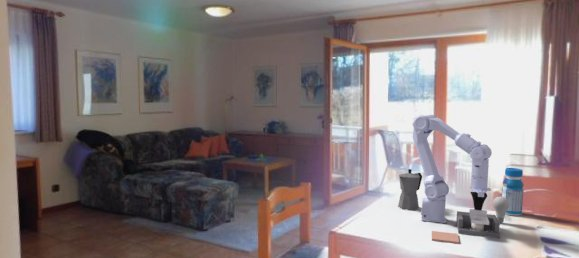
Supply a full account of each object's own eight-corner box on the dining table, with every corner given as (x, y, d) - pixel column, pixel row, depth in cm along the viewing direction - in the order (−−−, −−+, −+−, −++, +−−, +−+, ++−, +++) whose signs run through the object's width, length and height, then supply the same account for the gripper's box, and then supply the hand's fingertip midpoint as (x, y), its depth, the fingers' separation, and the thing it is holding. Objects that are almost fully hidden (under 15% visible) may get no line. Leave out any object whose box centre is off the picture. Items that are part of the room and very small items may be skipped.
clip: (471, 223, 150) (471, 214, 150) (469, 216, 157) (469, 208, 157) (489, 224, 148) (489, 216, 148) (486, 218, 155) (486, 210, 155)
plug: (471, 232, 154) (472, 220, 154) (470, 229, 159) (471, 217, 158) (484, 234, 153) (485, 222, 153) (482, 230, 157) (483, 218, 157)
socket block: (458, 233, 153) (459, 220, 153) (456, 223, 166) (456, 211, 165) (499, 238, 149) (500, 224, 148) (494, 227, 161) (495, 214, 161)
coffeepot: (407, 212, 180) (409, 172, 179) (390, 207, 188) (392, 168, 187) (428, 207, 189) (430, 168, 188) (412, 202, 197) (413, 165, 196)
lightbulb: (510, 225, 163) (512, 199, 162) (494, 224, 164) (495, 198, 163) (505, 221, 169) (507, 195, 168) (489, 220, 170) (491, 194, 169)
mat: (431, 240, 146) (432, 238, 146) (431, 232, 154) (431, 230, 154) (459, 243, 143) (459, 241, 143) (457, 235, 151) (457, 233, 151)
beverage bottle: (513, 217, 175) (516, 171, 173) (496, 211, 183) (498, 167, 181) (526, 215, 178) (529, 170, 177) (509, 210, 186) (512, 166, 184)
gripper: (494, 181, 148) (492, 217, 149) (488, 173, 161) (486, 207, 163) (472, 179, 150) (471, 215, 151) (469, 172, 164) (467, 205, 165)
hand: (477, 211), depth 157 cm, fingers closed
